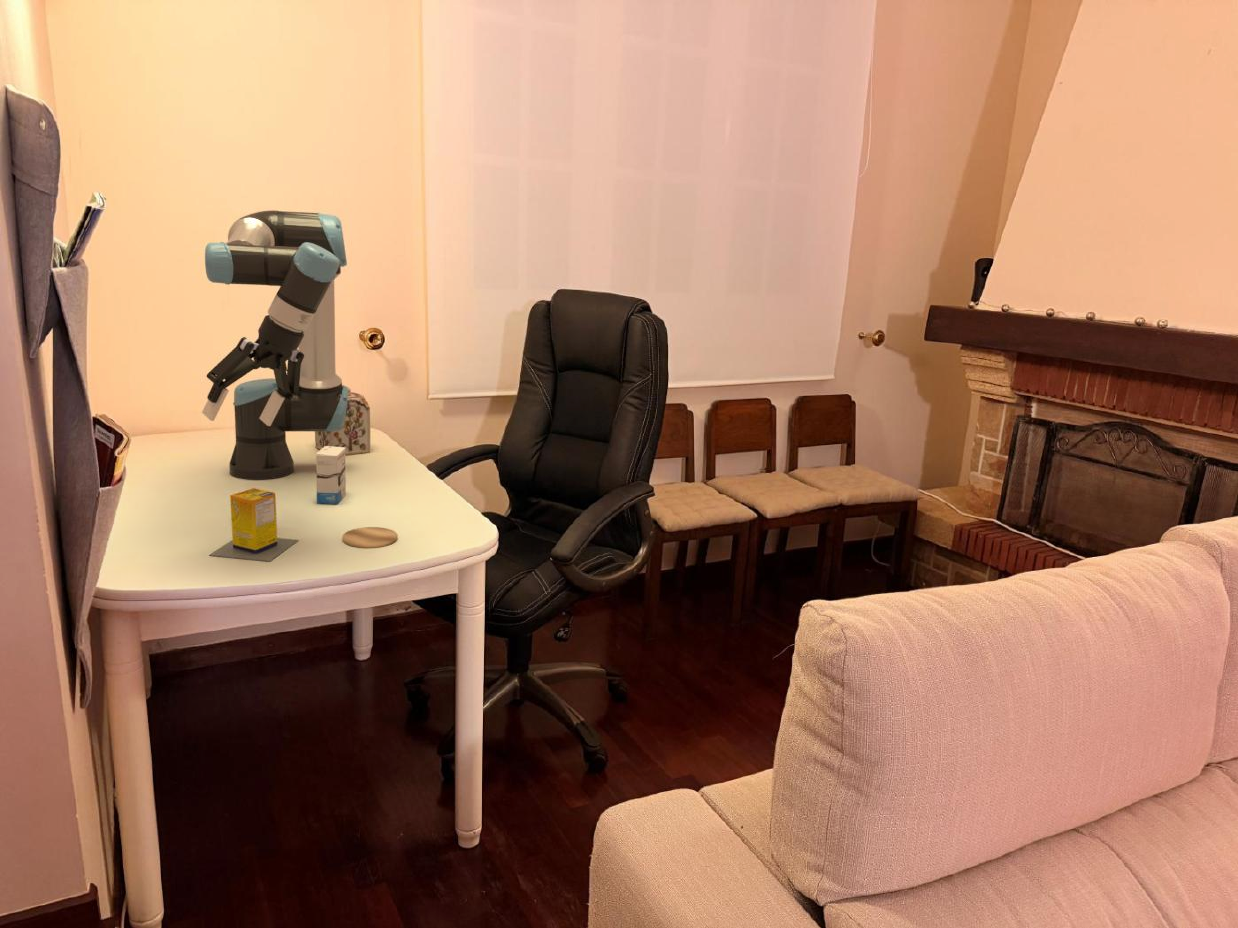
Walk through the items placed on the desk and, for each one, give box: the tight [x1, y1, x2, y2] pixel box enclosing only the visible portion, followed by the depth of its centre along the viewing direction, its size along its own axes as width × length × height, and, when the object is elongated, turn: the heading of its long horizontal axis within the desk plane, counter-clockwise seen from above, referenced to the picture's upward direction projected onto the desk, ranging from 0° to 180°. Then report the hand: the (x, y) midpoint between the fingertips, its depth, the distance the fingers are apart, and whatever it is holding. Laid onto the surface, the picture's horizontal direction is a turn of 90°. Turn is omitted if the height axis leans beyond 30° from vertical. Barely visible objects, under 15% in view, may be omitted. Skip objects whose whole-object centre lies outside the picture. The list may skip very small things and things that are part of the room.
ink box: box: [315, 446, 347, 505], centre depth 201 cm, size 8×5×12 cm, turn 4°
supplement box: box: [229, 487, 278, 554], centre depth 168 cm, size 6×6×11 cm
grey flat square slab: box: [208, 537, 299, 563], centre depth 169 cm, size 12×12×1 cm
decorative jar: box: [314, 387, 371, 456], centre depth 242 cm, size 12×12×18 cm
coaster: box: [341, 526, 399, 549], centre depth 179 cm, size 11×11×1 cm
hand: (237, 419), depth 165 cm, fingers open, 13 cm apart
